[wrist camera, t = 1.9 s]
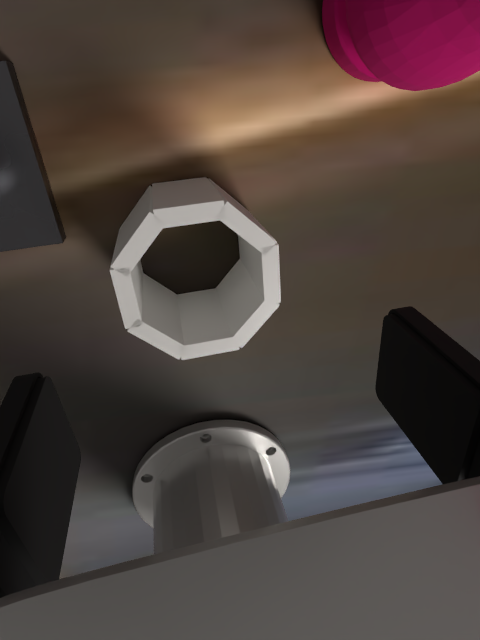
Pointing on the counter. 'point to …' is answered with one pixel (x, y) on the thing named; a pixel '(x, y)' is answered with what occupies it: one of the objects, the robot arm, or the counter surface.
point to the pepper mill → (404, 40)
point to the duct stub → (23, 175)
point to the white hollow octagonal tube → (200, 306)
